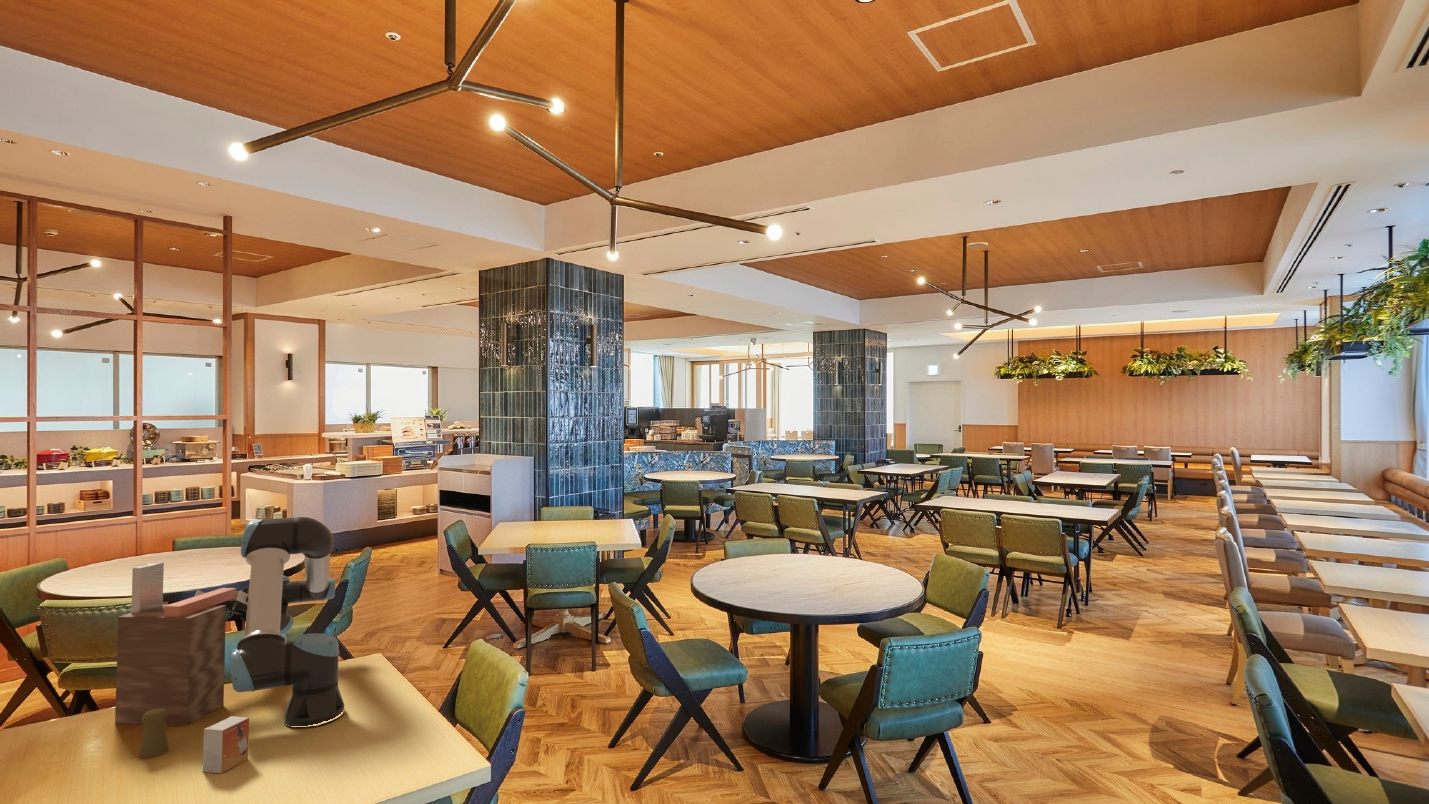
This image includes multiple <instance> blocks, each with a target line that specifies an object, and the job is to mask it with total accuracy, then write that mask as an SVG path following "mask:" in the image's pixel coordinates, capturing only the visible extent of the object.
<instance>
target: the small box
mask: <svg viewBox="0 0 1429 804" xmlns="http://www.w3.org/2000/svg"><path fill="white" fill-rule="evenodd" d="M249 731H250V717H242V716H233V715H230V716H229V717H228V718H225V719H223V720H221V721H219V722H217V723H214V724H212V725H210V726H207V727H206V728H204V729H203V751H202V752H203V753H202V772H203V773H211V774H213V773H215V774H223V773H225V772H227V771H228V770H231V769H232V768H234V767H236V766H239V764H241V763H243V761H244V762H245V761H248V759H249V734H250V733H249Z"/></svg>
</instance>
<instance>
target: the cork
mask: <svg viewBox="0 0 1429 804" xmlns="http://www.w3.org/2000/svg"><path fill="white" fill-rule="evenodd" d="M167 716H168V713H167V711H166V709H163V708H157V709H152V710H149V711H147V712H146V713H145V714H144V715H143V717H142V722H143V724H144V725H143V726H144V728H143V731H142V732H143V733H142V739H141V742H140V743H141V744H140V747H139V753H138V758H139V759H141V760H149V759H154V758H158V757H161V756H163V755H166V753H168V752H169V751H170V750H169V743H168V742H169V741H168V735H167V730H166V727H167V726H166V725H165V720H166V719H167Z"/></svg>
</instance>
